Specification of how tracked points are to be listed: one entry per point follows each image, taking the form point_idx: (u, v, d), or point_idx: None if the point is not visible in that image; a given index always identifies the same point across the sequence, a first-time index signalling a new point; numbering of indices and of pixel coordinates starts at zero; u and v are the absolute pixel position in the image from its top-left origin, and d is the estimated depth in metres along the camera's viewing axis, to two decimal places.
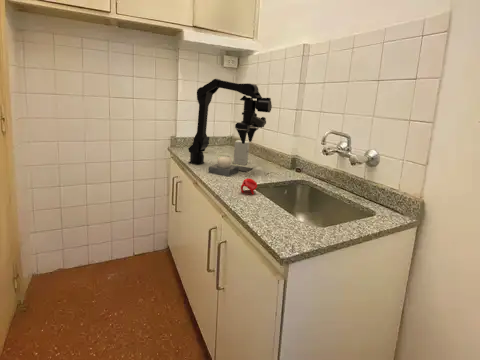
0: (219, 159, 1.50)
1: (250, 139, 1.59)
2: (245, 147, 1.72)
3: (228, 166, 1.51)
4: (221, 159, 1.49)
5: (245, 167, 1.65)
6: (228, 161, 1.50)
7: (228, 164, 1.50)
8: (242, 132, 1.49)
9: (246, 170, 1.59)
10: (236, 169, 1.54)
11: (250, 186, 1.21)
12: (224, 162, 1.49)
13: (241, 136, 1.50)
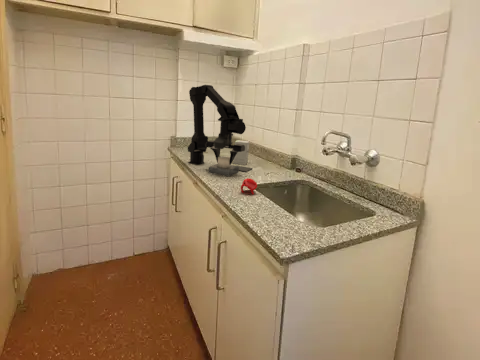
0: (219, 159, 1.50)
1: None
2: (245, 147, 1.72)
3: (228, 166, 1.51)
4: (221, 159, 1.49)
5: (245, 167, 1.65)
6: (228, 161, 1.50)
7: (228, 164, 1.50)
8: None
9: (246, 170, 1.59)
10: (236, 169, 1.54)
11: (250, 186, 1.21)
12: (224, 162, 1.49)
13: None
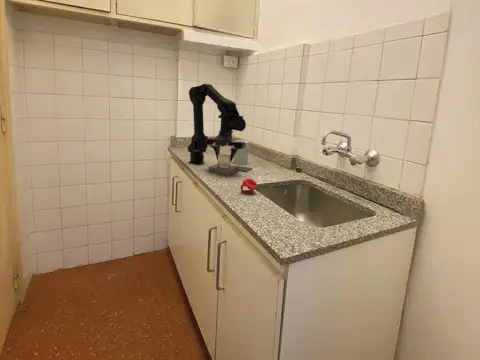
0: (219, 156, 1.49)
1: None
2: (245, 147, 1.72)
3: (229, 163, 1.50)
4: (222, 156, 1.49)
5: (245, 167, 1.65)
6: (228, 158, 1.49)
7: (229, 161, 1.50)
8: None
9: (246, 170, 1.59)
10: (236, 169, 1.54)
11: (250, 186, 1.21)
12: (225, 159, 1.49)
13: None
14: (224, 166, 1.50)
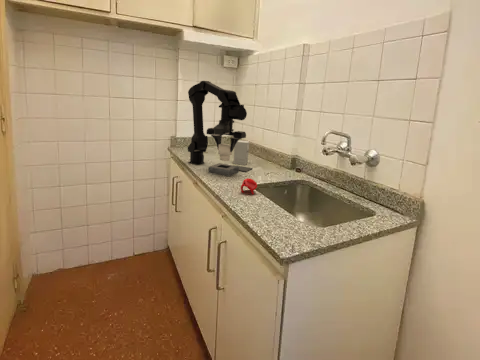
0: (220, 146, 1.48)
1: None
2: (245, 147, 1.72)
3: (229, 153, 1.49)
4: (221, 146, 1.47)
5: (245, 167, 1.65)
6: (228, 148, 1.48)
7: (229, 151, 1.48)
8: None
9: (246, 170, 1.59)
10: (236, 169, 1.54)
11: (250, 186, 1.21)
12: (224, 149, 1.47)
13: None
14: (224, 156, 1.49)
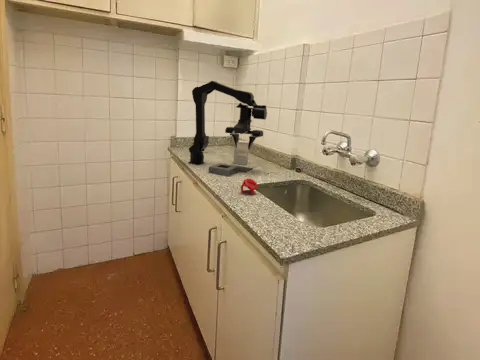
0: (238, 144, 1.57)
1: None
2: None
3: (247, 151, 1.58)
4: (240, 144, 1.56)
5: (245, 167, 1.65)
6: (247, 146, 1.57)
7: (247, 149, 1.58)
8: None
9: (246, 170, 1.59)
10: (236, 169, 1.54)
11: (250, 186, 1.21)
12: (243, 147, 1.57)
13: None
14: (242, 153, 1.58)
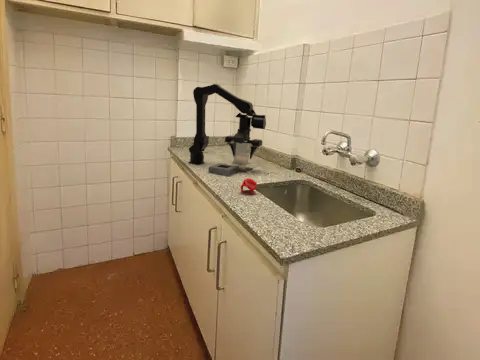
0: (237, 156, 1.59)
1: None
2: (245, 147, 1.72)
3: (246, 163, 1.60)
4: (239, 156, 1.58)
5: None
6: (246, 158, 1.59)
7: (246, 161, 1.59)
8: None
9: (246, 170, 1.59)
10: (236, 169, 1.54)
11: (250, 186, 1.21)
12: (242, 159, 1.58)
13: None
14: (242, 165, 1.60)
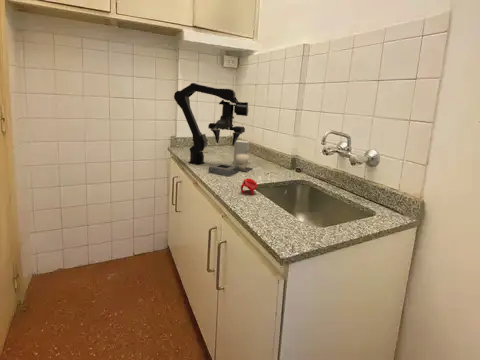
0: (238, 156, 1.59)
1: None
2: (245, 147, 1.72)
3: (246, 163, 1.60)
4: (239, 156, 1.58)
5: None
6: (246, 158, 1.59)
7: (246, 161, 1.59)
8: None
9: (246, 170, 1.59)
10: (236, 169, 1.54)
11: (250, 186, 1.21)
12: (242, 159, 1.58)
13: None
14: (242, 165, 1.60)
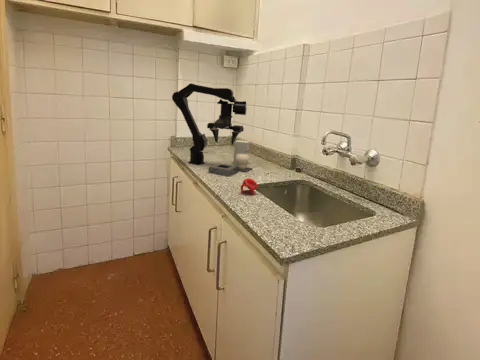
0: (237, 156, 1.59)
1: None
2: (245, 147, 1.72)
3: (246, 163, 1.60)
4: (239, 156, 1.58)
5: None
6: (246, 158, 1.59)
7: (246, 161, 1.59)
8: None
9: (246, 170, 1.59)
10: (236, 169, 1.54)
11: (250, 186, 1.21)
12: (242, 159, 1.58)
13: None
14: (242, 165, 1.60)
